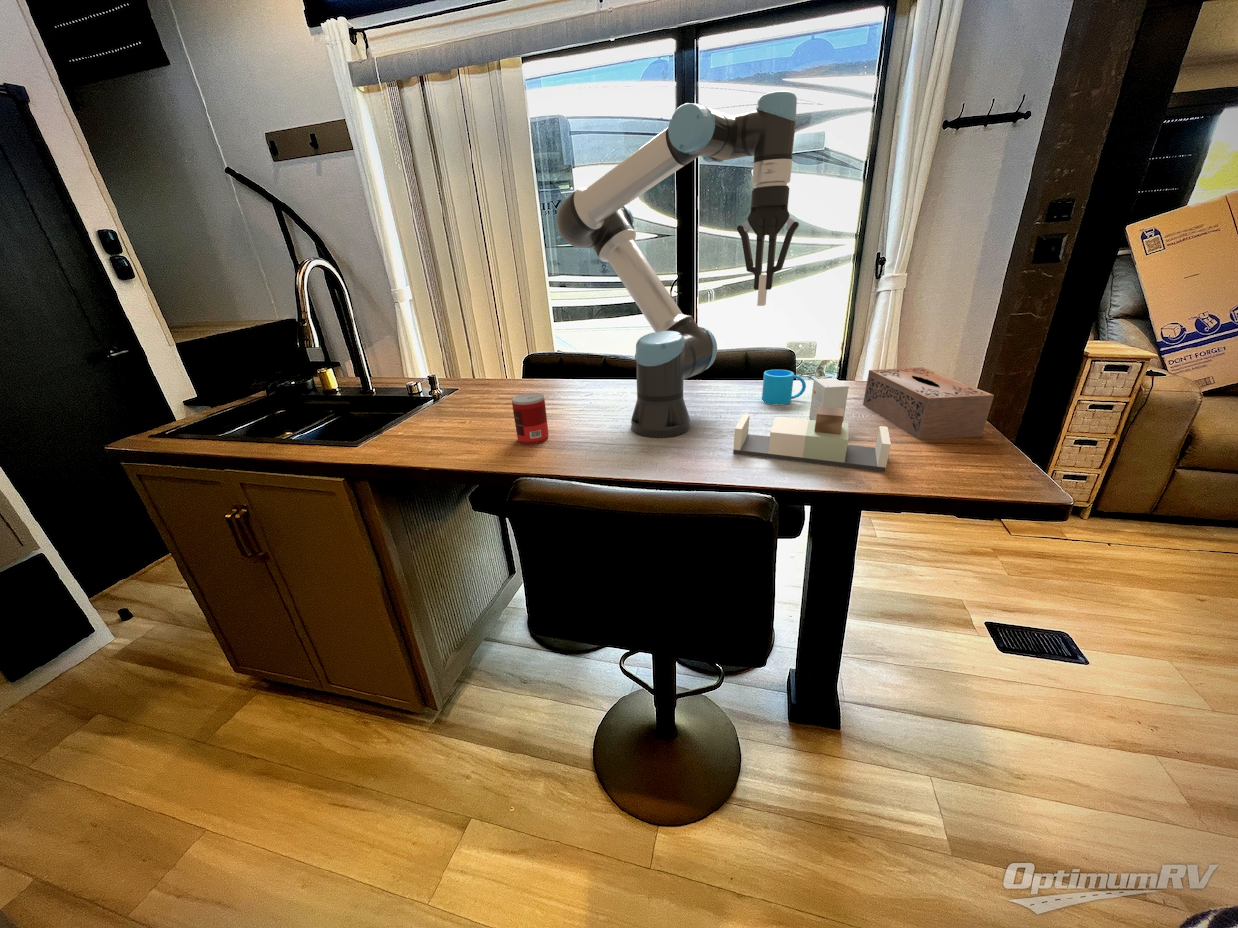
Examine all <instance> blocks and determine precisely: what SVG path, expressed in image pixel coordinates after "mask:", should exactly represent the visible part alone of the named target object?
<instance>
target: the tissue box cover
mask: <svg viewBox="0 0 1238 928" xmlns="http://www.w3.org/2000/svg"><path fill="white" fill-rule="evenodd" d="M866 379H867V381H866V386H865V391H864V397H863V403H862V406H864V407H866V408H867V409H869V410H871V411H872V412H874V413H875V414H877V415H878V416H880V417H882V418H883V419H885V420H887V421H888V422H890V423H891V424H893V425H894V426H896V427H898V428H899V429H900V430H903V431H904V432H906V433H907V434H909V435H911V436H912V437H913V438H915V439H917V440H918V441H919V440H920V441H921V440H935V439H936V440H939V439H940V440H941V439H957V438H973V437H975V438H977V437H979V438H980V437H983V434H984V433H983V432H984V430H985V428H986V427H985V426H986V423H987V420H988V417H989V413H990V410H991V407H992V404H993V400H994V398H995V397H994V396H995V395H994V394H992V393H989V392H988V391H985V390H981V389H979V388H978V387H974V386H972V385H969V384H966V383H964V382H962V381H959V380H956V379H953V378H951V377H948V376H946V375H943V374H941V373H939V372H935V371H933V370H931V369H928V368H926V367H923V366H920V367H903V368H884V369H883V368H882V369H869V370H868V374H867V378H866Z"/></svg>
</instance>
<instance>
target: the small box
mask: <svg viewBox="0 0 1238 928" xmlns="http://www.w3.org/2000/svg"><path fill="white" fill-rule="evenodd" d="M812 384H813V385H812V390H811V391H812V392H811V400H810V409H809V416H808V419H809V420H816V416H817V410H818V407H830V408H843V409H844V415H843V422H842V423H844V419H845V415H846V414H845V413H846V406H847V399H848V394H849V393H848V392H849V388H850V387H849V386H848V385H847V384H845V383H844V382H842V381H841V380H839V379H837V378H835V377H834V378H833V377H831V378H830V377H829V378H814V379H813V383H812Z"/></svg>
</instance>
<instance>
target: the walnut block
mask: <svg viewBox="0 0 1238 928" xmlns="http://www.w3.org/2000/svg"><path fill="white" fill-rule="evenodd" d="M843 415H844V416H845V414H844V409H843V408H830V407H818V410H817V416H816V423H815V431H814V432H819V433H829V434H839V435H840V434H841V428H842V422H843V423H844V421H843Z"/></svg>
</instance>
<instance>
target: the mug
mask: <svg viewBox="0 0 1238 928" xmlns="http://www.w3.org/2000/svg"><path fill="white" fill-rule="evenodd" d="M794 379H797V380H798V381H800V383H801V386H802V387H801V389H800V391H799V392H798V393H797V394H794V395H792V394H793V386H794ZM806 387H807V385H806V381H805V379H804V378H802V377H801V376H798V375H796V374H795V373H794V372H793V371H791V370H787V369H770V370H769V369H768V370H765V371H764V372H763V381H762V393H761V395H762V396H761V401H762V400H763V401H764V402H766V403H765V404H767V403H769V404H768V405H772V404H778V405H777V406H781V405H780V404H784V405H788V404H790V403H791V402H792V400H794V399H797V398H798V397H801V396H802V395H803V394H804V392H805V391H806ZM763 401H762V402H763ZM764 402H763V403H764Z"/></svg>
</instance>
